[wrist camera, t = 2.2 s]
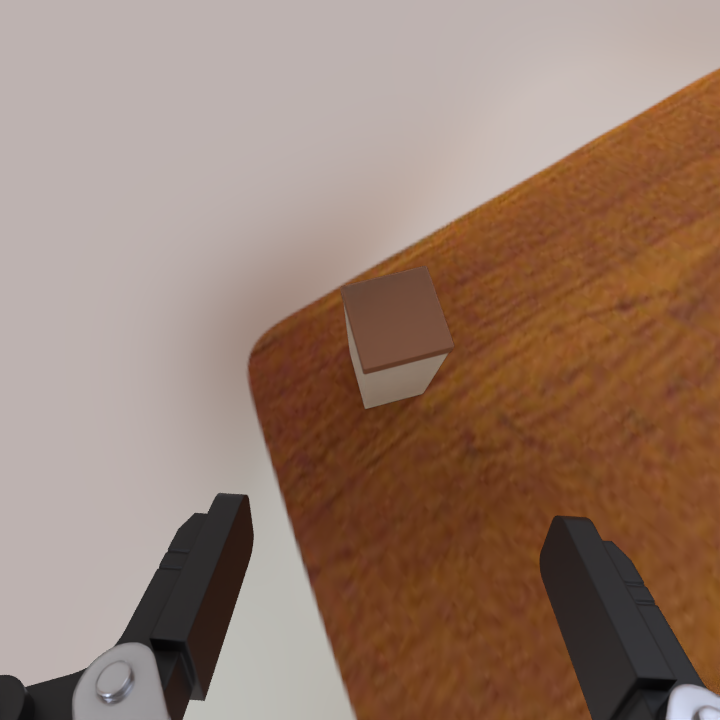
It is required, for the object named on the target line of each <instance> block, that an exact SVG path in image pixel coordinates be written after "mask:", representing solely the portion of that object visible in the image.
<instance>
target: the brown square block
mask: <svg viewBox="0 0 720 720" xmlns="http://www.w3.org/2000/svg"><path fill="white" fill-rule="evenodd" d="M341 295H342V299H343V302H344V309H345V317H346V325H347V333H348V341H349V349H350V355H351V359H352V363H353V366H354V370H355V374H356V377H357V381H358V385H359V389H360V392H361V396H362V400H363V403H364V407H365V409H367V408H371V407H375V406H379V405H383V404H386V403H390V402H394V401H398V400H401V399H405V398H409V397H413V396H417V395H420V394H423V393H424V391H425V390H426V388H427V386H428V385H429V383H430V382H431V380H432V378H433V377H434V375H435V374H436V372H437V371H438V369H439V367H440V366H441V364H442V363H443V361H444V359H445V358H446V356H447V355H448V353H450V352H451V351H452V350H453V348H454V343H453V340H452V337H451V334H450V331H449V328H448V326H447V323H446V320H445V317H444V314H443V311H442V308H441V305H440V303H439V300H438V297H437V294H436V291H435V288H434V285H433V282H432V280H431V277H430V274H429V271H428V268H427V266H422V267H418V268H414V269H410V270H406V271H401V272H397V273H393V274H389V275H385V276H381V277H377V278H373V279H369V280H365V281H361V282H357V283H353V284H348V285H344V286H341Z"/></svg>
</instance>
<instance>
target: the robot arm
mask: <svg viewBox="0 0 720 720" xmlns="http://www.w3.org/2000/svg"><path fill="white" fill-rule="evenodd" d="M253 540H254V534H253V525H252V518H251V510H250V504H249V498H248V496H247V495H242V494H226V493H219V494H217V496H216V497H215V499H214V501H213V503H212V505H211V507H210V509H209V511H208V514H203V513H194V514H193V515H192V516H191V517H190V518H189V519H188V521H186V522H185V523H184V524H183V525H182V526H181V527H180V528H179V529H178V531H177V533H176V535H175V537H174V539H173V540H172V542H171V544H170V546H169V548H168V552H167V553H166V554H165V555H164V557H163V559H162V561H161V563H160V566H159V569H157V571H156V572H155V574H154V576H153V578H152V580H151V582H150V584H149V586H148V588H147V590H146V591H145V593H144V595H143V597H142V599H141V601H140V603H139V605H138V607H137V608H136V610H135V612H134V614H133V616H132V618H131V620H130V622H129V624H128V626H127V628H126V629H125V631H124V633H123V635H122V636H121V638H120V639H119V641H118V642H117V643H116V645H115V646H114V647H113V648H111V649H109V650H108V651H106V652H104V653H103V654H102V655H100V656H99V657H98V658H97V659H95V660H94V661H93V662H92V663H91V664H90V666H89V667H88V668H85V669H83V670H81V671H79V672H76V673H73V674H70V675H67V676H63V677H60V678H56V679H52V680H49V681H45V682H42V683H38V684H35V685H31V686H27V687H24V685H23V684H22V683H21V681H20V680H18V679H17V678H16V677H14V676H10V675H0V720H183V717H184V714H185V711H186V708H187V705H188V702H189V700H201V701H202V700H203V701H205V698H206V695H207V692H208V689H209V686H210V682H211V679H212V676H213V673H214V670H215V667H216V663H217V661H218V657H219V654H220V651H221V648H222V645H223V642H224V639H225V636H226V632H227V629H228V626H229V623H230V620H231V617H232V614H233V611H234V608H235V604H236V601H237V598H238V595H239V592H240V589H241V586H242V583H243V579H244V576H245V573H246V570H247V567H248V564H249V561H250V557H251V553H252V547H253ZM540 571H541V576H542V580H543V582H544V585H545V588H546V591H547V594H548V596H549V599H550V602H551V605H552V608H553V610H554V613H555V616H556V619H557V622H558V624H559V627H560V630H561V633H562V636H563V638H564V641H565V644H566V647H567V650H568V652H569V655H570V658H571V661H572V664H573V666H574V669H575V672H576V675H577V678H578V680H579V683H580V686H581V689H582V692H583V694H584V697H585V700H586V703H587V706H588V708H589V711H590V714H591V717H592V720H720V696H719V695H717V694H715V693H714V692H712V691H710V690H708V689H707V688H706V686H705V685H704V684H703V682H702V681H701V679H700V677H699V676H698V674H697V672H696V671H695V669H694V667H693V666H692V664H691V662H690V660H689V659H688V657H687V655H686V654H685V652H684V650H683V648H682V647H681V645H680V643H679V642H678V640H677V638H676V636H675V635H674V633H673V631H672V630H671V628H670V626H669V624H668V623H667V621H666V619H665V618H664V616H663V614H662V612H661V611H660V609H659V607H658V606H657V605H655V603H654V601H655V600H654V599H653V597H652V595H651V594H650V592H649V590H648V588H647V587H645V586H644V582H643V580H642V578H641V576H640V575H639V573H638V571H637V570H636V568H635V566H634V564H633V563H632V561H631V560H630V559H629V558H628V557H627V556H626V555H625V554H624V553H623V552H622V551H621V550H620V549H619V548H618V547H617V546H616V545H615V544H614V543H613V542H612V541H602V539H601V537H600V535H599V534H598V532H597V530H596V528H595V526H594V524H593V523H592V521H591V520H590V519H588V518H586V517H572V516H555V517H554V518H553V520H552V523H551V526H550V528H549V531H548V534H547V537H546V539H545V542H544V545H543V548H542V550H541V554H540Z"/></svg>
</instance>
